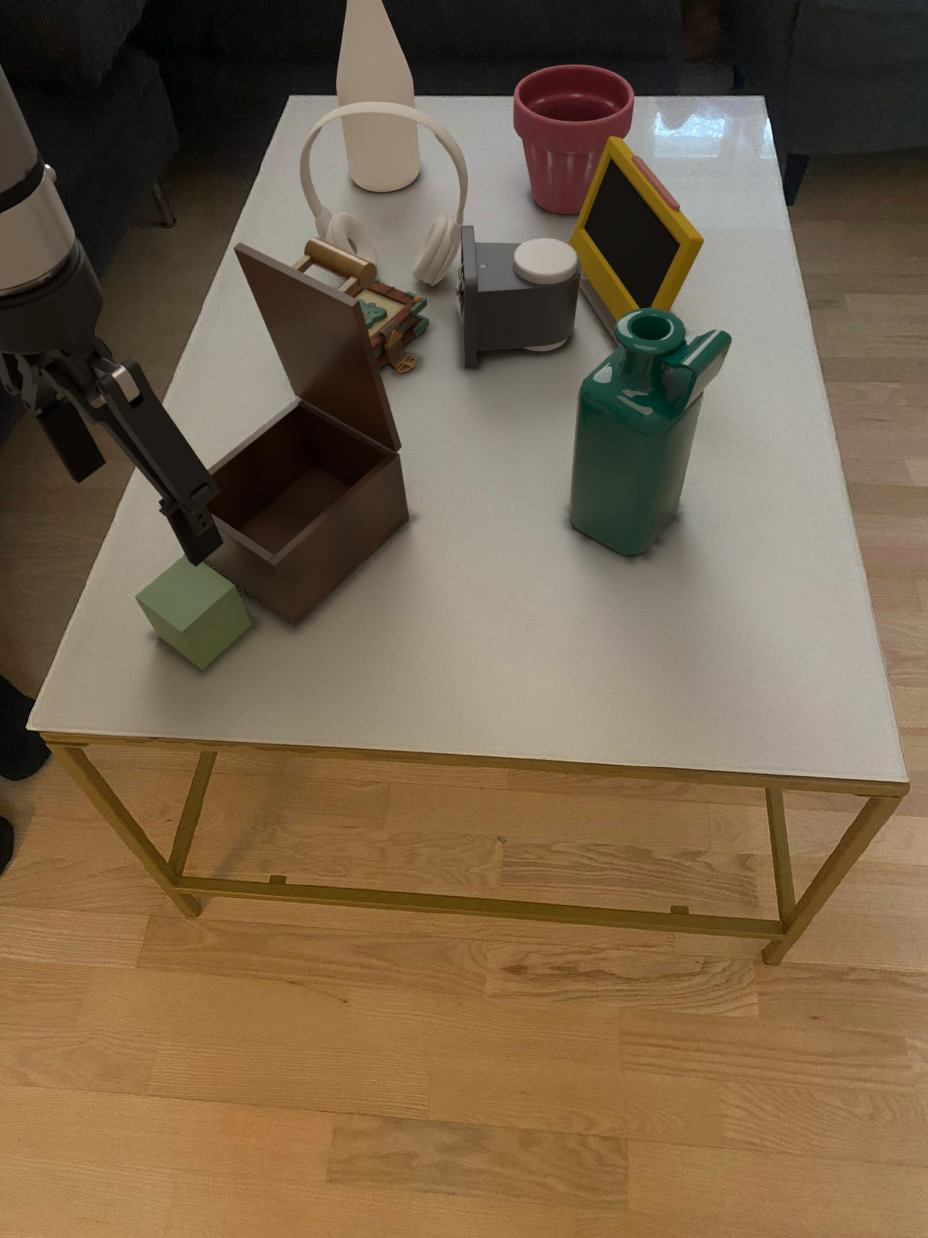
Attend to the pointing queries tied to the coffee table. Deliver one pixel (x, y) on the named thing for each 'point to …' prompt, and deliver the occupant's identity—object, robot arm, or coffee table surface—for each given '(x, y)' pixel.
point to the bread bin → (303, 507)
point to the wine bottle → (376, 100)
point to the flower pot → (569, 129)
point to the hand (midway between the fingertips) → (146, 510)
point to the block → (194, 610)
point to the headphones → (351, 231)
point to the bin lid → (323, 334)
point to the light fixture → (516, 294)
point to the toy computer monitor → (631, 238)
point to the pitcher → (640, 428)
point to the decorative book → (391, 322)
